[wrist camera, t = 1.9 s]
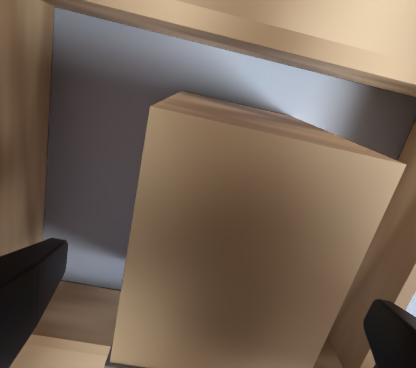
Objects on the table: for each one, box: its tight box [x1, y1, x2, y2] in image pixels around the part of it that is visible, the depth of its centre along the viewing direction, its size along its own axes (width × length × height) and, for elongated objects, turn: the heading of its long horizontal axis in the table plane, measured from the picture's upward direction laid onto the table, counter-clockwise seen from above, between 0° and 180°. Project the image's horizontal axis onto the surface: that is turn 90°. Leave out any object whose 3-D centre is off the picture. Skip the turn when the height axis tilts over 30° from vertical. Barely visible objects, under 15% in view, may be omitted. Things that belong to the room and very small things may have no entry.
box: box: [104, 91, 406, 368], centre depth 11 cm, size 5×9×8 cm, turn 167°
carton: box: [0, 0, 416, 368], centre depth 13 cm, size 17×21×4 cm
